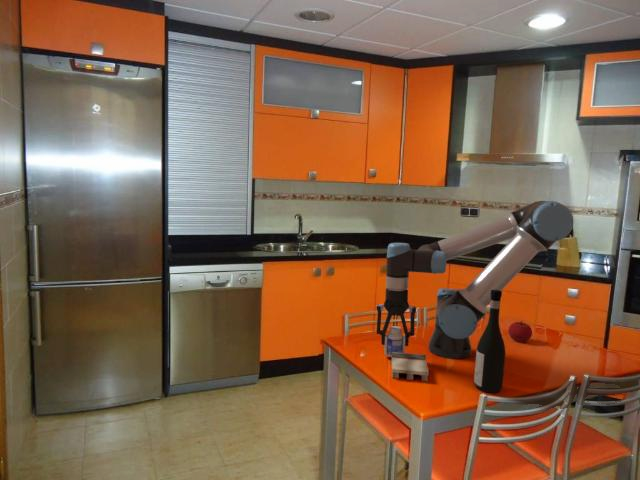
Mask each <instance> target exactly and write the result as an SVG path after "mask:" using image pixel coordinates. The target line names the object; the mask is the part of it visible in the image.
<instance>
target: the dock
mask: <svg viewBox="0 0 640 480" xmlns="http://www.w3.org/2000/svg"><path fill="white" fill-rule="evenodd" d="M391 372H392V374H391V375H392V379H395V380H396V379H397V380H398V379H399V377H400V376H399V374H405V376H406V380H408V381H413V380H414V375H419V377H420V380H421V382H428V381H429V380H428V379H429V377H428V376H429V375H430V374H429V372H430V371H429V368H428V364H427V355H426V354H422V353H420V354H419V353H411V352H410V353H409V352H405V353H400V352H392V357H391Z"/></svg>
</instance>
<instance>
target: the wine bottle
mask: <svg viewBox="0 0 640 480" xmlns="http://www.w3.org/2000/svg"><path fill="white" fill-rule="evenodd" d="M502 293H503V291H502V290H501V291H500V290H491V302H490V303H489V304H490V306H489V317H488V322H487V325H486V327H485V329H484V331H483V333H482V335H481V337H480V338H479V340H478V343H477V347H476V352H475V353H476V355H475V364H474V365H475V366H474V376H473V385H474V386H475V388H477V389H478V390H479V391H482V392H485V393H490V394H493V393H498V392H500V391H502V389H503V383H504V375H505V374H504V372H505V363H506V346H505V342H504V338H503V334H502V331H501V329H500V322H499V319H500V311H501V309H500V308H501V299H502Z"/></svg>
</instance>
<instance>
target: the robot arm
mask: <svg viewBox="0 0 640 480" xmlns="http://www.w3.org/2000/svg"><path fill="white" fill-rule="evenodd" d="M573 227H574V216H573V213H572V212H571V211H570V209H569V208H568V207H567V206H566V205H565V204H562V203H560V202H558V201H552V200H551V201H548V200H539V201H535V202H532V203H529V204H527V205H526V206H523V207H521V208H518V209H516V210H514V211H511V212H509V213H508V214H507V216H506V217H503V218H500V219H497V220H494V221H491V222H488V223H486V224H483V225H480V226H477V227H474V228H472V229H469V230H466V231H463V232H460V233H458V234H455V235H452V236H450V237H446V238H444V239H441V240H438V241H435V242H432V243H430V244H423V245H421V246H420V247H418V249H412V248H411V246H410V245H411V244H410V243H406V242H391V243H389V244H388V246H387V253H386V277H385V287H386V288H385V299H384V301H383V303H382V304H378V303H377V304H376V306H375V307H376V311H377V321H376V322H377V323H376V334H377V335H380V337H381V340H380V341H381V345H382V346H384V349H383V350H384V354H383V355H384V356H388V355H387V335H388V333H387V330H388V328H389V325H390V322H391V319H392V317H394V316H397V317H400V320H401V325H402V330H403V332H404V334H402V335H403V347H402V353H406V347H409V344H410V343H409V341H410V339H409V338H410V337H414V336H415V315H416V312H417V308H416V307H417V306H415V305H413V306H412V305H410V304H409V301H408V300H409V290H408V288H409V283H410V282H409V280H410V276H409V275H410V273H423V274H433V275H435V274H445V272H446V269H447V261H449V260H452V259H456V258H459V257H461V256H465V255H467V254H471V253H473V252H476V251H479V250H482V249H484V248H485V249H486V248H487V247H490V246H494V245H496V244H499V243H502V242H504V241H509V242H508V243H507V244H505V246H504V247H502V249H501V250H500V251H499V252H498V253H497V254H496V255H495V256H494V257H493V258H492V260H491V261H489V263H488V264H486V266H485V267H484V268H483V269H482V271H480V273H478V275H477V276H475V278H474V279H473V280H472V281H470V283H469V284H468V285H467V286H466V287H464V288H458V289H455V288H439V289H438V290H437V295H436V309H435V319H434V320H435V323H434V329H433V332H432V334H431V336H430V339H429V341H428V346H427V347H428V351H429V352H430V353H432V354H434V355H437V356H438V357H439V356H440V357H443V358H449V359H465V358H466V359H467V358H468V357H471V356H472V344H471V340H470V336H472V335H473V334H474V333H475V331H476V329H477V328H478V323H479V322H480V321H481V320H482V319H483V317H485V316H486V314H487V306H488V305H489V304H490V302H491V290H500V291H502V290H504V288H505V287H507V285H508V284H509V283H510V282H511V281H512V280H513V279H514V278H515V277H516V276H517V275H518V274H519V273H520V272H521V271H522V270H523V269H524V267H526V265H528V263H530V261H531V260H533V258H534V257H535V256H536V255H537V254H539V253H540V252H544V251H545V252H546V251H548V250H549V249H550V247H552V246H553V245H554V244H555V243H556V242H558V241H560V240H563V239H565V238H567V236H569V235H570V233H571V231H572V230H573ZM384 308H385V310H386V312H388V313H387V315H386V317H385V318H386V319H385V322H384V325H383V328H382V330H381V326H382V325H381V324H382V323H381V322H382V312H383V311H384ZM407 310H409V311H408V312H409V313H410V316H409V317H410V328H409V329H410V330H408V326H407V322H406V318H405V313H406V312H407Z"/></svg>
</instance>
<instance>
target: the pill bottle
mask: <svg viewBox="0 0 640 480" xmlns="http://www.w3.org/2000/svg"><path fill="white" fill-rule="evenodd" d="M403 335H404V334H402V327H400V326H396V325H394V326H392V325H391V326H390V327H389V332H388V333H387V355H386V356H388V357H390V358H392V352H400V353H402V347H403Z"/></svg>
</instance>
